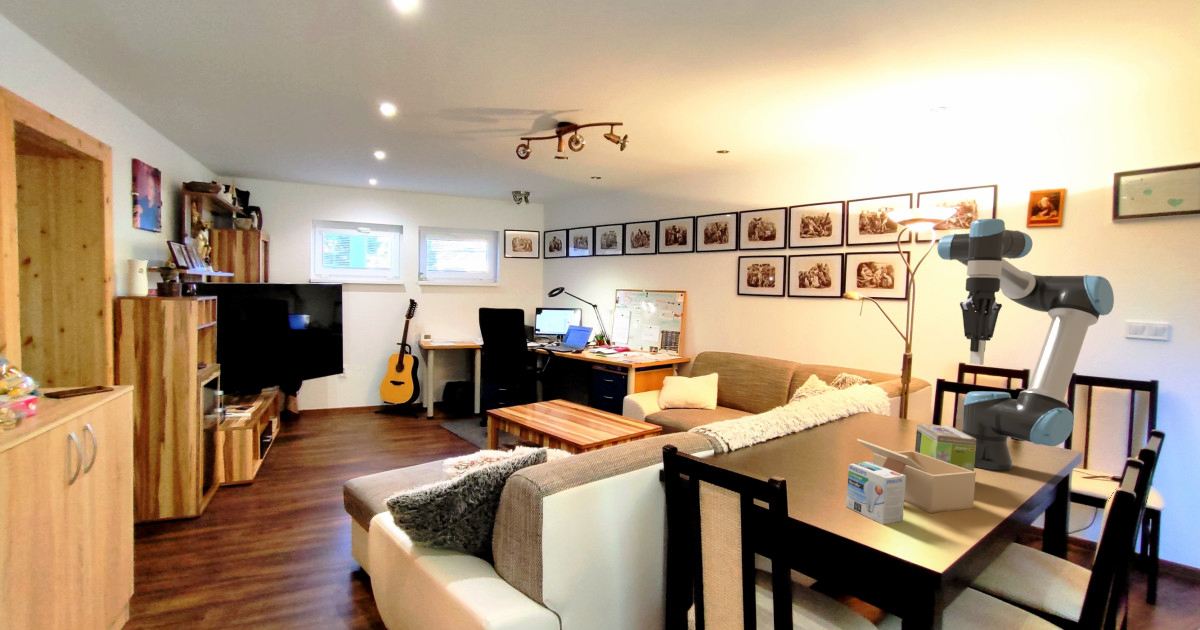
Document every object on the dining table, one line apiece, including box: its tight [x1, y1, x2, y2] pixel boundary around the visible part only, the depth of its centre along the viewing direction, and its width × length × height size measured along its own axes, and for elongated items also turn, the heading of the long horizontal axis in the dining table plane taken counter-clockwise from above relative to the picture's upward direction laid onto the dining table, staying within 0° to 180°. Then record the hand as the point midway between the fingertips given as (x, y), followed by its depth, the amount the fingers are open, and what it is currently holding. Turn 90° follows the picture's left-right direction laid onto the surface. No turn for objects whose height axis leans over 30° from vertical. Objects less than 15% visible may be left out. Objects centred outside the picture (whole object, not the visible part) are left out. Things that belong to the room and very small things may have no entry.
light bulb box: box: [845, 461, 906, 525], centre depth 126 cm, size 11×7×11 cm, turn 23°
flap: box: [856, 438, 927, 474], centre depth 135 cm, size 8×15×8 cm
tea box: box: [914, 423, 976, 472], centre depth 152 cm, size 15×10×15 cm, turn 168°
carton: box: [872, 450, 977, 514], centre depth 139 cm, size 14×18×9 cm
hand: (976, 363), depth 146 cm, fingers closed
